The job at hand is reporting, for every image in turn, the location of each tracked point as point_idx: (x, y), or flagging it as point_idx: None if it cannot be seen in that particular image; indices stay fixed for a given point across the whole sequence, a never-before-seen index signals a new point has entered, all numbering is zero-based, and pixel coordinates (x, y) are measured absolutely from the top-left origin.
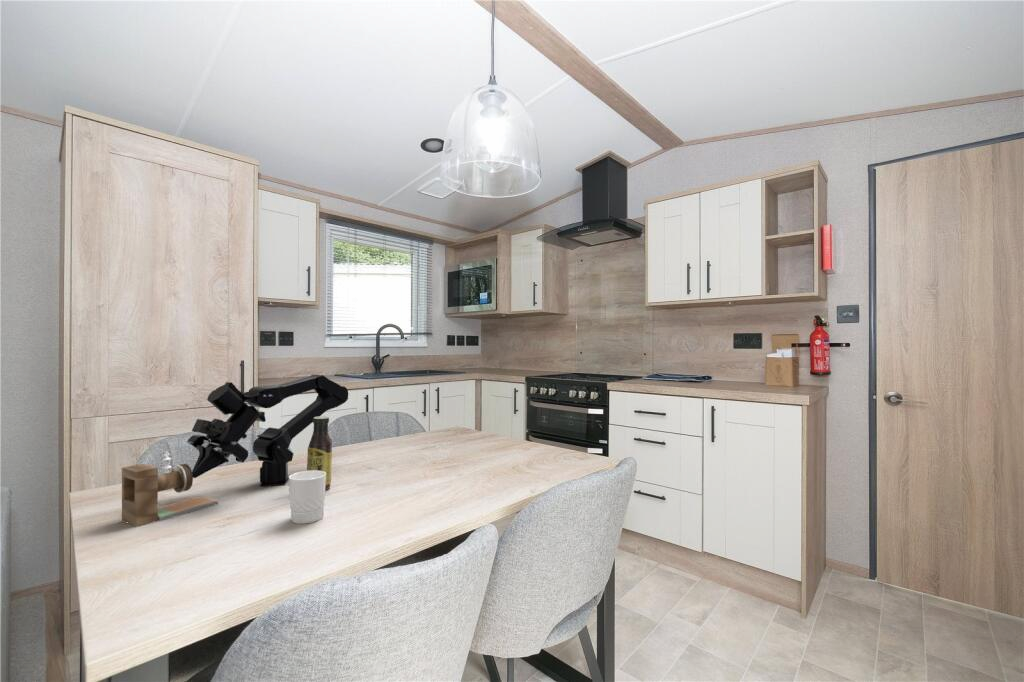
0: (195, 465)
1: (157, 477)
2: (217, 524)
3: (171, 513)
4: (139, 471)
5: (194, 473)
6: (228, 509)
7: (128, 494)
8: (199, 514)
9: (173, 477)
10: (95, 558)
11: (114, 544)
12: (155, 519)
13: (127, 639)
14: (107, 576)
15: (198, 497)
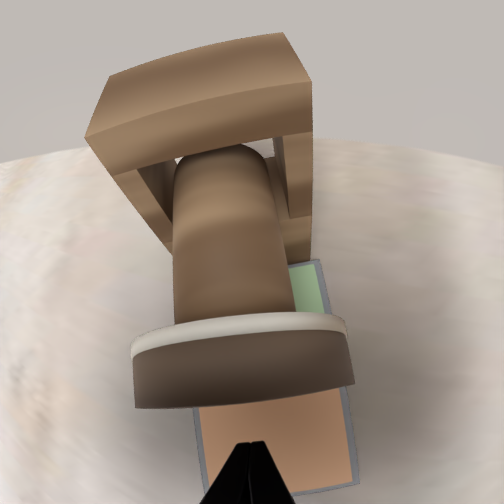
0: (277, 500)
1: (114, 179)
2: (29, 375)
3: None
4: (107, 82)
5: (227, 459)
6: (112, 476)
7: (276, 156)
8: None
9: (175, 293)
10: (87, 157)
11: None
12: None
13: None
14: (24, 173)
15: (334, 470)
